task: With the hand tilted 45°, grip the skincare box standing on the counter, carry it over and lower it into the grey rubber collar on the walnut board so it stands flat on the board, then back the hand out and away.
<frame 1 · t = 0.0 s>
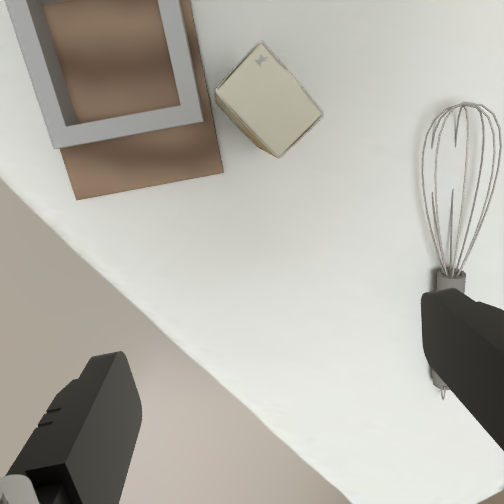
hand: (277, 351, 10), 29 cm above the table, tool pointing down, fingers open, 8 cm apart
skincare box: (254, 110, 36), on the table
board: (121, 61, 34), on the table
kitchen whisk: (442, 260, 42), on the table
collar: (111, 55, 31), on the board, point 3 cm above the table
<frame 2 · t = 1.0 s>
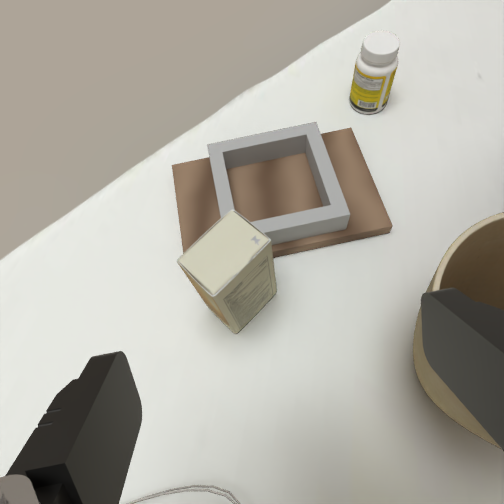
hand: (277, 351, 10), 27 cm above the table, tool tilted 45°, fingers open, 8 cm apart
skincare box: (241, 301, 39), on the table
board: (275, 200, 44), on the table
supplement bottle: (367, 103, 50), on the table
plant pot: (457, 372, 35), on the table
collar: (274, 185, 41), on the board, point 3 cm above the table
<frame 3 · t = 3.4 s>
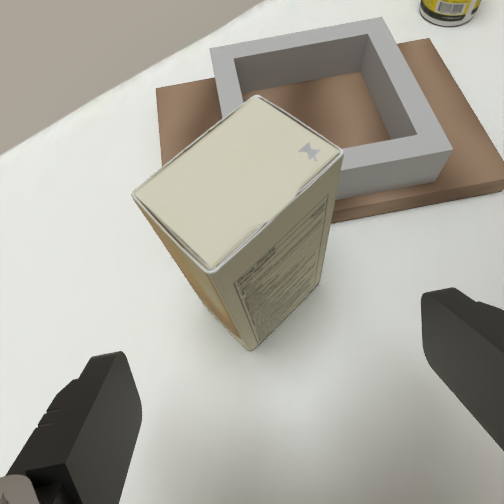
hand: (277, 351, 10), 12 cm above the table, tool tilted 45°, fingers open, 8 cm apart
skincare box: (260, 296, 24), on the table
board: (312, 142, 28), on the table
supplement bottle: (445, 13, 34), on the table
collar: (315, 111, 26), on the board, point 3 cm above the table
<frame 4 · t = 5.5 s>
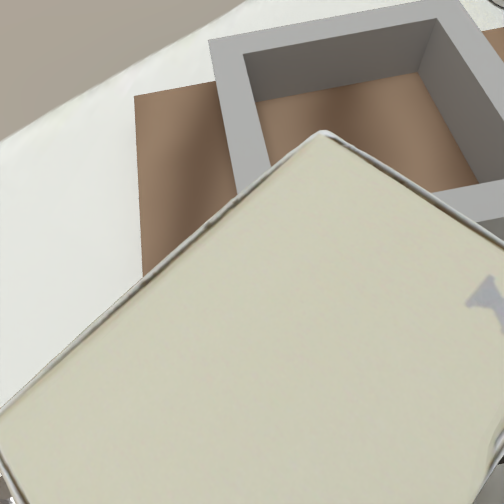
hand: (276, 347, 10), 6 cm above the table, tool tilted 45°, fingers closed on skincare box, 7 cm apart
skincare box: (286, 417, 15), on the table, touching gripper
board: (353, 172, 20), on the table
collar: (364, 131, 17), on the board, point 2 cm above the table
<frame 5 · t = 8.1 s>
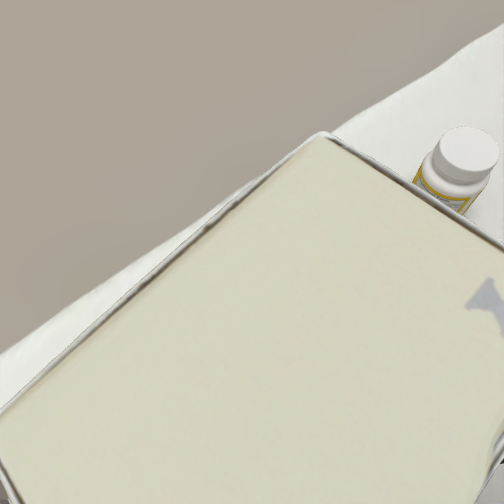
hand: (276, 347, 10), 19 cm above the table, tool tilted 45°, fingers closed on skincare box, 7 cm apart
skincare box: (286, 418, 15), point 13 cm above the table, touching gripper
supplement bottle: (426, 214, 34), on the table
when the fingers open (9 cm above the table, at t = 10.9 s): skincare box drops 2 cm, resting on board.
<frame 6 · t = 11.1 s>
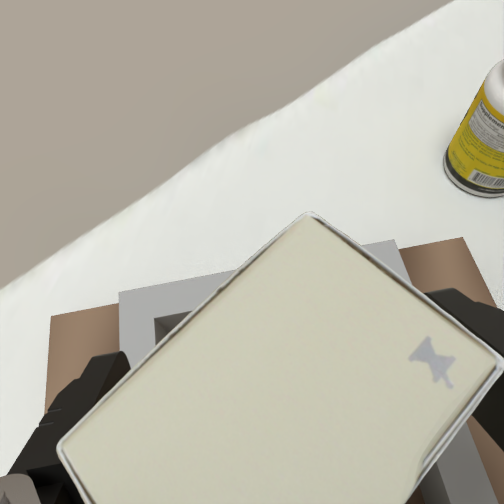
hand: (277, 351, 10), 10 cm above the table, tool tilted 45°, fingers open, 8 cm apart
skincare box: (283, 424, 17), point 1 cm above the table, touching board
board: (286, 421, 18), on the table
supplement bottle: (479, 169, 24), on the table
collar: (286, 417, 16), on the board, point 2 cm above the table
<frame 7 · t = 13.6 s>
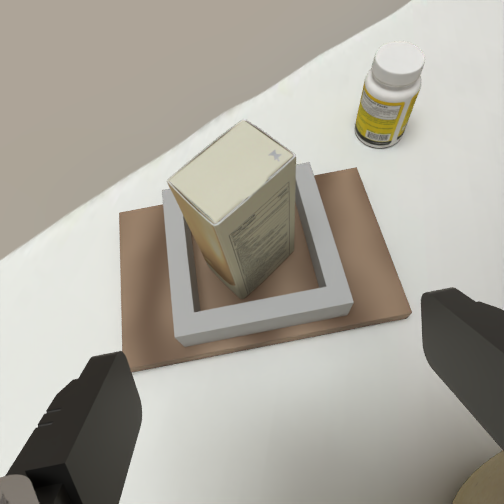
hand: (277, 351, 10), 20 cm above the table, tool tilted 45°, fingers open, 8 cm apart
skincare box: (250, 261, 32), point 1 cm above the table, touching board
board: (253, 265, 33), on the table
supplement bottle: (377, 132, 39), on the table
collar: (250, 249, 30), on the board, point 2 cm above the table
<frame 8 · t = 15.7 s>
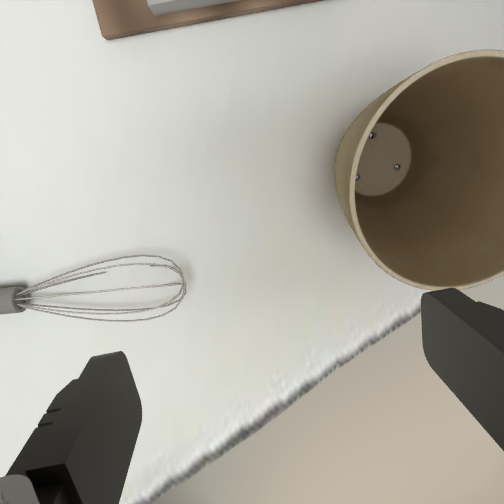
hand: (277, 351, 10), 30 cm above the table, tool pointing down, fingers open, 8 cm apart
kitchen whisk: (38, 292, 41), on the table
plant pot: (372, 161, 39), on the table
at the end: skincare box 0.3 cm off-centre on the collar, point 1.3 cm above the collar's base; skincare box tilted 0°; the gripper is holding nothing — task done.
